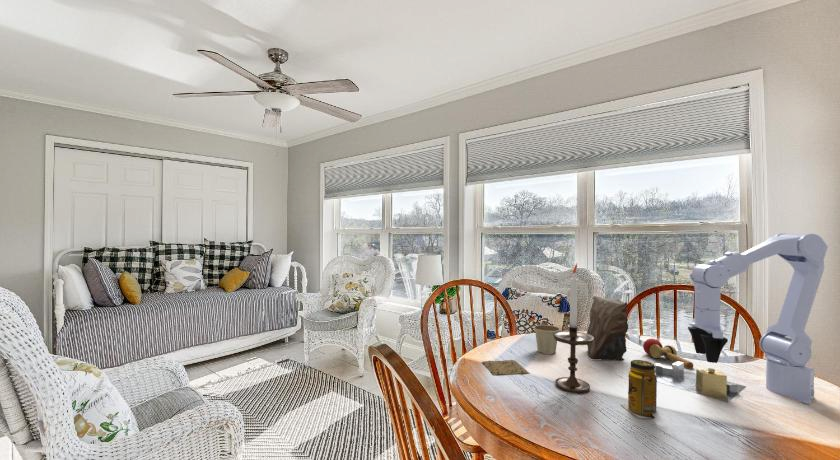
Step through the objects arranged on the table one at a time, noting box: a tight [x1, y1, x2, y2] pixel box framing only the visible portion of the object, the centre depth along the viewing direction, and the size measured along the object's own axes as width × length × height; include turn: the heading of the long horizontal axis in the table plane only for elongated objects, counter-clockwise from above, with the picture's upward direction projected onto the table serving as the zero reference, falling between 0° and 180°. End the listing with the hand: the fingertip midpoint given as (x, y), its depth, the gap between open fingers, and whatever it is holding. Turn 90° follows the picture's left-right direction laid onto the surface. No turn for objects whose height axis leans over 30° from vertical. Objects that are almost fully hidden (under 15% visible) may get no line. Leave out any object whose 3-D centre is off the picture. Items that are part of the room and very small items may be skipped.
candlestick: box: [553, 263, 594, 394], centre depth 110 cm, size 11×11×35 cm
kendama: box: [642, 338, 694, 369], centre depth 133 cm, size 8×6×18 cm
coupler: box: [695, 367, 728, 397], centre depth 105 cm, size 6×4×6 cm, turn 77°
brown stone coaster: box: [481, 359, 531, 376], centre depth 125 cm, size 12×12×1 cm
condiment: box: [621, 359, 658, 420], centre depth 96 cm, size 7×8×12 cm
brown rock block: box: [586, 295, 629, 361], centre depth 138 cm, size 13×13×20 cm
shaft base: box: [654, 361, 747, 403], centre depth 113 cm, size 21×17×4 cm
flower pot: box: [532, 324, 562, 355], centre depth 141 cm, size 9×9×9 cm
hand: (706, 357), depth 108 cm, fingers open, 7 cm apart
